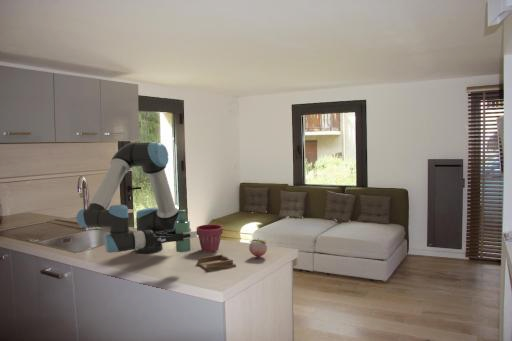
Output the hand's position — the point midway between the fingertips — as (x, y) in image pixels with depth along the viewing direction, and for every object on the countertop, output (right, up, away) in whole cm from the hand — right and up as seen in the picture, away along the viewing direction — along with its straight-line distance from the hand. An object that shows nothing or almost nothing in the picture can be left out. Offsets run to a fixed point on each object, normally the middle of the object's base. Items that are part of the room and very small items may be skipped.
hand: (193, 232), depth 186 cm
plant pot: (+4, -15, +35) cm, 39 cm away
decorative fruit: (+30, -16, +19) cm, 39 cm away
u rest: (+10, -17, +7) cm, 20 cm away
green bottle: (-4, -8, -2) cm, 9 cm away
